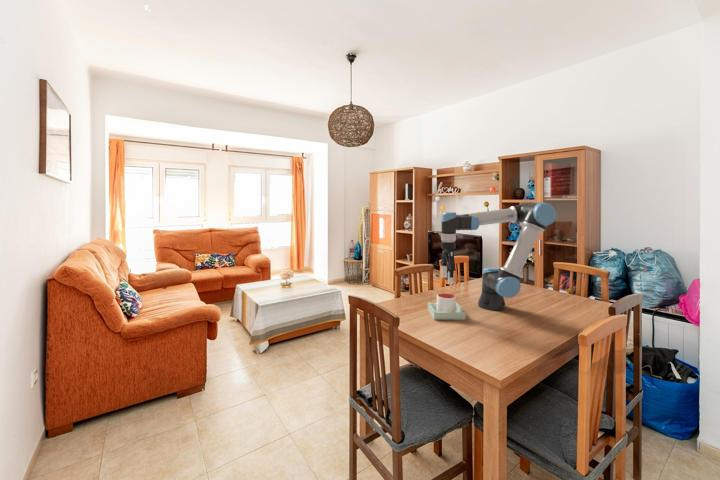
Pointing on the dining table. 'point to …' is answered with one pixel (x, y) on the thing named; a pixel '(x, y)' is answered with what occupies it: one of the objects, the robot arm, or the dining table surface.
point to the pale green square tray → (446, 313)
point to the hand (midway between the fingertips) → (447, 280)
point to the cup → (446, 302)
